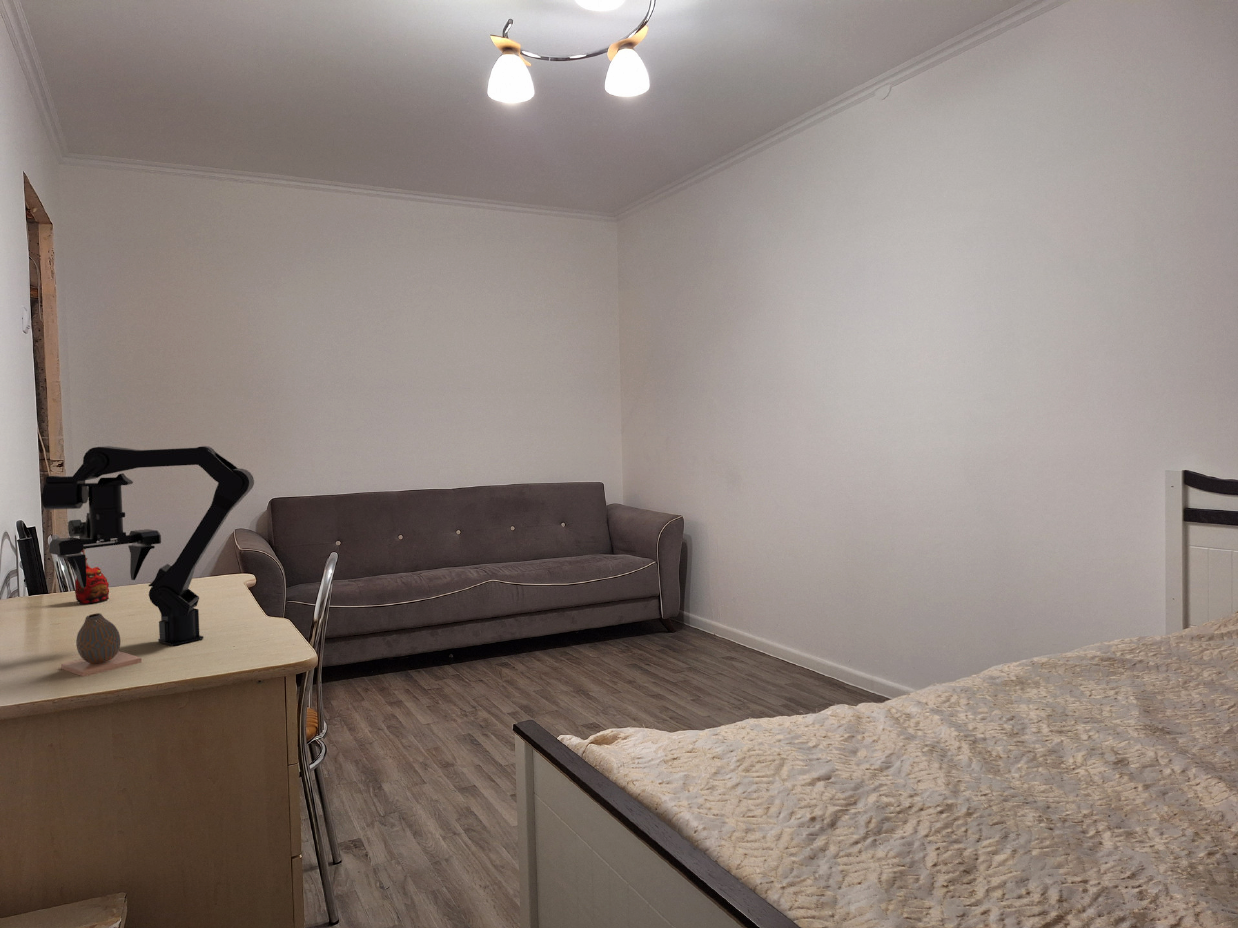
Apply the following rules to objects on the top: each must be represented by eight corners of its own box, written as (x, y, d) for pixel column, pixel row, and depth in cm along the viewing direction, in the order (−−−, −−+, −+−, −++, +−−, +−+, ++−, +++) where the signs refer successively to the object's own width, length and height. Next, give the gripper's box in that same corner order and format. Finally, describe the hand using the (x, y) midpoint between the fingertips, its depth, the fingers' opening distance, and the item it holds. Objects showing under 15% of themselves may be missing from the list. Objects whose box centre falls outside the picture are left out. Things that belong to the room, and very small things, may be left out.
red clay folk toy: (88, 605, 201) (85, 547, 201) (67, 604, 203) (65, 546, 203) (115, 599, 209) (113, 542, 208) (95, 598, 211) (92, 541, 210)
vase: (131, 653, 152) (123, 609, 150) (97, 668, 145) (88, 623, 144) (106, 650, 154) (98, 607, 153) (71, 665, 148) (62, 620, 146)
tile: (118, 650, 157) (141, 657, 152) (119, 658, 157) (141, 665, 152) (61, 663, 149) (82, 671, 144) (61, 671, 149) (83, 679, 144)
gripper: (136, 502, 174) (139, 572, 175) (36, 510, 159) (40, 587, 160) (160, 504, 168) (163, 577, 169) (59, 513, 153) (62, 593, 153)
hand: (109, 583), depth 163 cm, fingers open, 9 cm apart
